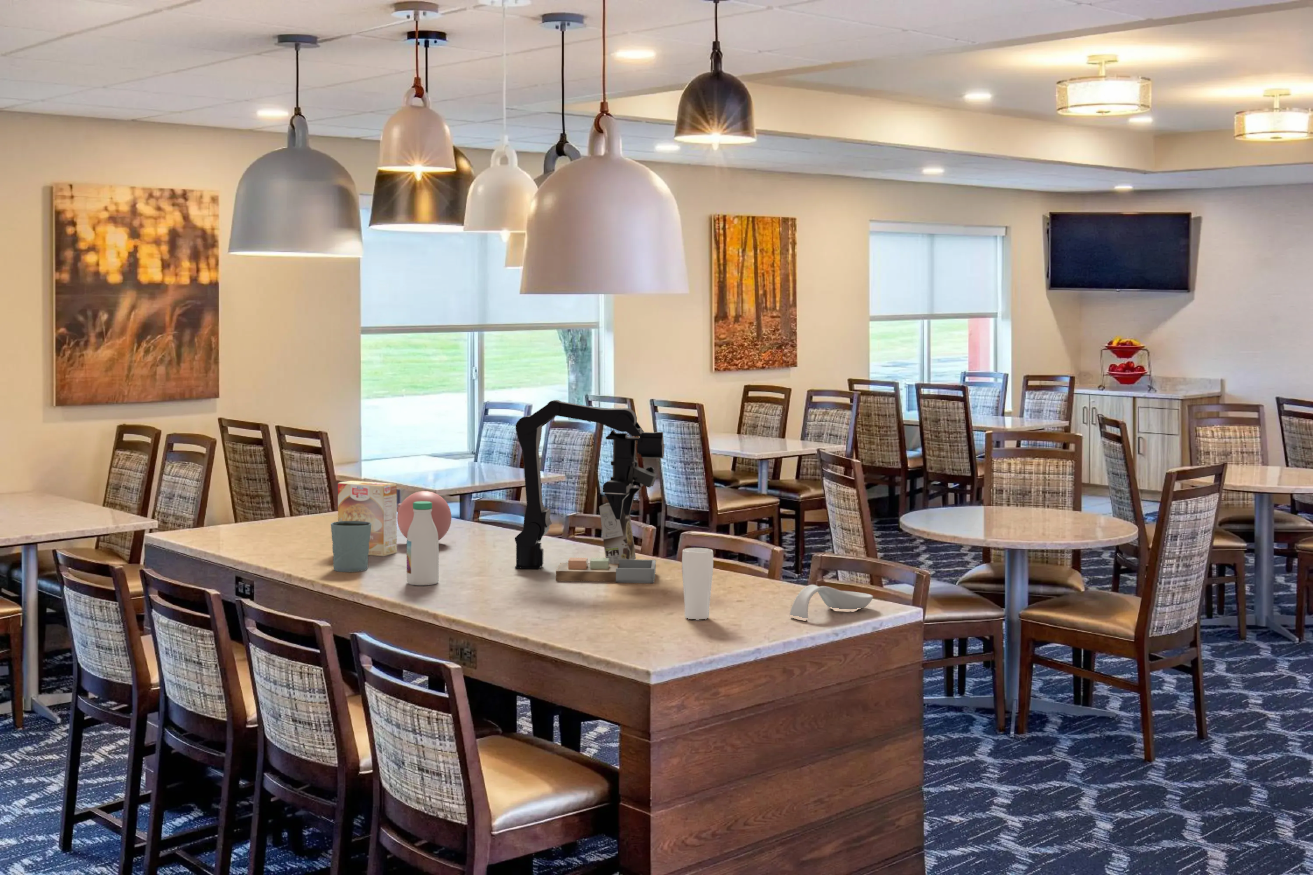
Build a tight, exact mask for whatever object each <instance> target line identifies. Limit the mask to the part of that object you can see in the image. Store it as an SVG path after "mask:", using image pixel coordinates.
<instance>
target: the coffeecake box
mask: <svg viewBox="0 0 1313 875" xmlns="http://www.w3.org/2000/svg"><path fill="white" fill-rule="evenodd" d="M397 486H398V485H397V483H394V482H393V483H389V482H375V481H361V480H348V481H347V480H346V481H340V482H338V483H337V522H339V521H364V522H370V523H371V532H370V541H369V554H368V556H375V557H376V556H377V557H387V556H390V555H393V554H397V553H398V550H397V547H398V541H397V540H398V534H397V533H398V532H397V531H398V530H397V529H398V522H397V514H398V512H397V507H398V506H397V504H398V503H397V500H398V499H397V498H398V496H397V488H398V487H397Z"/></svg>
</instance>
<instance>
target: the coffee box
mask: <svg viewBox="0 0 1313 875" xmlns="http://www.w3.org/2000/svg"><path fill="white" fill-rule="evenodd" d="M598 508H599V516H600V524H601V532H602V540H603V547H604V555H605V557H604V558H609V564H619V559H637V557H636V548H635V542H634V533H633V527H632V520H631V513H630V514H629V515H625V513H624V509H623V508H622V514H621V519H620V520H617V519H616V518H615V516H614V513H613V511H612V508H611V506H610V504H609V502H606V503H604V504H601V505H600V506H599V507H598Z"/></svg>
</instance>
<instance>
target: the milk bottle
mask: <svg viewBox="0 0 1313 875" xmlns="http://www.w3.org/2000/svg"><path fill="white" fill-rule="evenodd" d="M413 511H414V517H413V520H412V523H411V525H410V527H409V530H408V534H407V538H406V583H407V584H408V585H412V586H431V585H435V584H438V583H439V577H440V574H439V573H440V571H439V570H440V569H439V568H440V567H439V566H440V564H439V563H440V562H439V560H440V558H439V557H440V556H439V555H440V554H439V549H440V548H439V541H438V532H437V529H436V526H435V524H434V522H433V519H432V516H431V511H432V502H428V501H418V502H414V503H413Z"/></svg>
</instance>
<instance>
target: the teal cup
mask: <svg viewBox="0 0 1313 875" xmlns="http://www.w3.org/2000/svg"><path fill="white" fill-rule="evenodd" d="M330 532H331V541H332V546H331V547H332V554H333V556H332V561H333V562H332V564H333V570H334V571H335V572H340V573H357V572H358V573H359V572H364V571H367V569H368V567H369V566H368V565H369V564H368V563H369V555H368V554H369V541H370V532H371V523H370V522H364V521H339V522H338V521H334V522H331V523H330Z"/></svg>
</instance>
